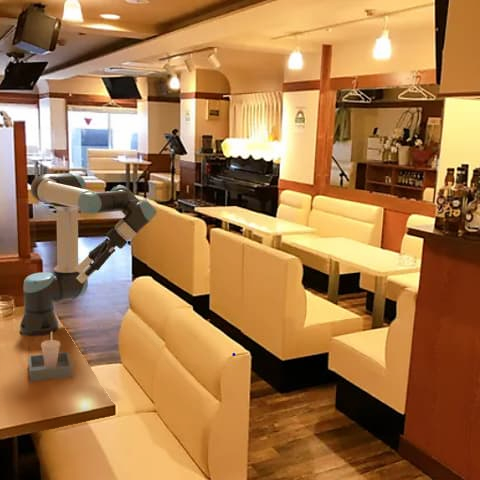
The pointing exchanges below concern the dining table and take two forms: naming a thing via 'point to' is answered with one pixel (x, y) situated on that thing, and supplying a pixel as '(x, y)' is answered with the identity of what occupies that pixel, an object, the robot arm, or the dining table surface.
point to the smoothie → (50, 352)
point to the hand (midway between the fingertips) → (78, 275)
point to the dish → (40, 373)
